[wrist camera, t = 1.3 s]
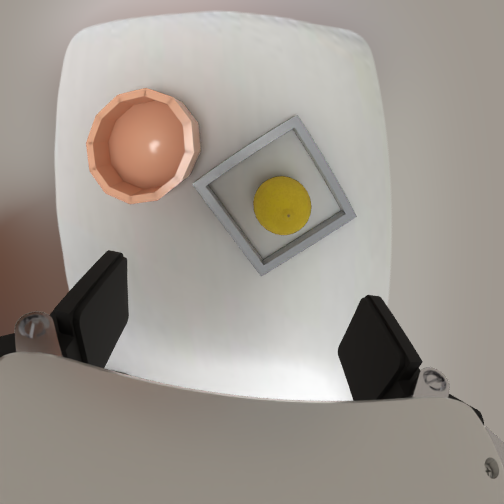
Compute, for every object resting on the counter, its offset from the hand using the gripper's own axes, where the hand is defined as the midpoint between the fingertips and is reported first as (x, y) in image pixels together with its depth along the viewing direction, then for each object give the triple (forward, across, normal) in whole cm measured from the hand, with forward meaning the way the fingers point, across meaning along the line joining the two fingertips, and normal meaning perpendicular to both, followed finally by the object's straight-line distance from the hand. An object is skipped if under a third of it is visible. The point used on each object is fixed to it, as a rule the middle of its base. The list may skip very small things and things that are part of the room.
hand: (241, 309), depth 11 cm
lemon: (+22, -4, 0) cm, 22 cm away
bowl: (+22, +11, -3) cm, 25 cm away
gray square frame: (+22, -4, 0) cm, 22 cm away
